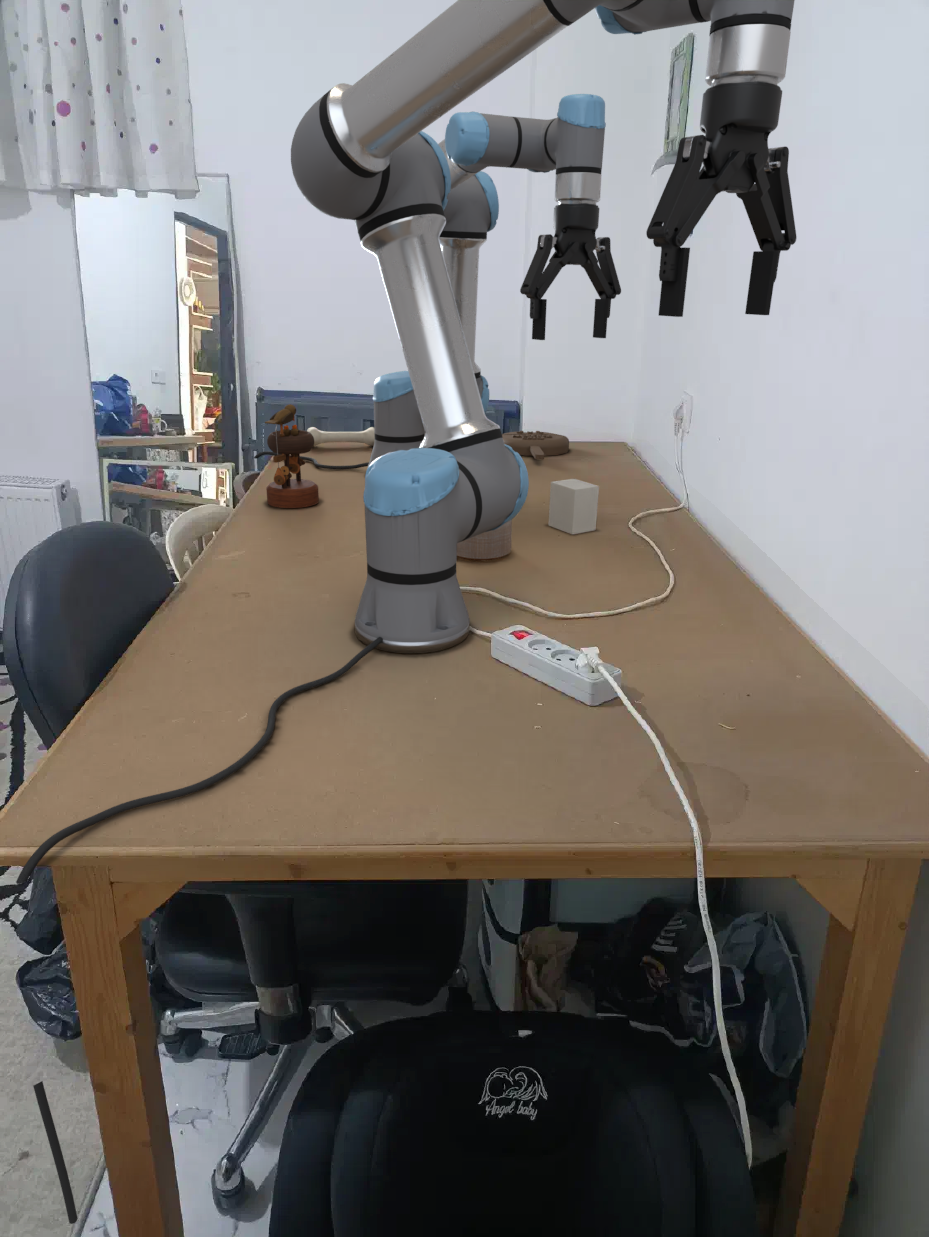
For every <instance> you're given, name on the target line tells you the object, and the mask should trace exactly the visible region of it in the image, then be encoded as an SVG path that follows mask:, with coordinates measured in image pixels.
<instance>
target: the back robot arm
mask: <svg viewBox="0 0 929 1237" xmlns="http://www.w3.org/2000/svg"><path fill="white" fill-rule="evenodd" d="M556 116H557V117H555V118H551V119H542V118H532V117H520V116H511V115H499V114H492V113H491V114H490V113H483V112H479V111H478V112H477V111H469V112H467V111H465V112H461V111H460V112H458V111H457V112H455V113H453V114H452V115H451V116H450V117H449V121H448V123H447V125H446V128H445V132H444V133H445V134H444V139H443V140H441V141H440V142H439V143H437V144H438V145H439V146H440V148H441V149H442V151H443V153H444V155H445V157H446V159H447V162H448V165H449V169H450V175H451V189H450V193H448V195H447V199H448V202H447V205H446V207H445V209H444V215H445V219H446V224H445V226H444V228H443V230H442V232H441V234H440V236H439V241H440V245H441V249H442V253H443V256H444V260H445V264H446V268H447V272H448V275H449V279H450V283H451V287H452V291H453V295H454V298H455V302H456V306H457V310H458V314H459V317H460V321H461V325H462V329H463V333H464V337H465V340H466V344H467V348H468V352H469V356H470V359H471V363H472V367H473V371H474V375H475V378H476V382H477V386H478V390H479V394H480V398H481V401H482V405H483V409H484V413H485V415H486V414H487V411H488V408H489V403H490V388H489V382H488V380H487V379H486V377H485V376H483V375H482V374H481V372H482V369H481V368H480V366H479V365H478V364H477V363H476V361H475V360H476V359H475V358H476V339H477V338H476V336H477V315H478V314H477V313H478V290H479V269H480V268H479V267H480V266H479V265H480V249H481V247H482V246H483V245H484V244H485V243H486V242H487V241H488V233H489V232H491V231H492V230H494V228H495V227H496V225H497V221H498V219H499V214H500V204H499V203H500V202H499V195H498V190H497V186H496V185H495V183H494V180H493V179H492V177H491V176H490V175H489V174H488V173H487V172H486V171H483V170H485V169H486V168H489V167H490V168H491V167H493V168H506V169H507V168H508V169H521V170H522V169H523V170H528V171H529V172H531V173H542V174H543V173H544V174H546V173H550V172H551V171H555V181H554V201H555V202H556V203H557V205H555V206H554V207H553V218H552V219H553V221H552V227H553V229H554V235H553V234H551V233H550V234H549V233H547V234H539V235H538V237H537V245H536V250H535V253H534V255H533V257H532V260H531V262H530V265H529V267H528V269H527V272H526V275H525V277H524V279H523V282H522V284H521V286H520V289H519V292H520V294H521V295H524V296H525V297H526V298H527V299H529V318H530V320H532V328H531V340H535V341H545V340H546V328H547V327H546V326H547V325H546V324H547V323H546V322H547V303H548V302H547V301H548V300H547V299H546V298H543V297H544V295H545V294H546V292H547V291H548V290H549V288H550V287H551V285H552V284H553V282H554V281H555V280H556V278H557V276H558V275H559V273H560V272H561V271H562V269H563V268H564V267H565V266H570V265H571V266H580V267H581V268H583V269H584V271H585V273H586V275H587V276H588V278H589V280H590V282H591V284H592V286H593V288H594V290H595V291H596V293H597V295H598V297H599V298H595V299H594V311H593V314H594V316H593V328H592V329H593V330H592V338H593V339H594V338H596V339H607V329H608V319H610V317H611V305H612V299H613V300H615V299H616V298H617V296H619V295H621V293H622V288H621V284H620V281H619V276H618V273H617V269H616V267H615V263H614V259H613V255H612V252H611V249H612V248H611V237H610V236H600V237H597V236H596V232H597V230H598V228H599V224H600V223H599V221H600V207H599V205H597V203H599V202H600V201H601V191H602V170H603V162H604V160H603V158H604V147H605V146H604V145H605V135H606V134H605V133H606V125H607V124H606V123H607V122H606V101H605V100H604V98H603V97H601V96H600V95H597V94H593V93H592V94H591V93H575V94H567V95H565V96H563V97H561V99H560V101H559V102H558V110H557V113H556ZM552 249H554V251H553V252H554V253H553V254H552V255H551V253H552ZM594 250H595V251H594ZM594 252H595V253H594ZM550 255H551V257H550ZM547 263H548V264H547ZM546 265H547V266H546ZM372 401H373V427H374V434H375V443H374V446H372V451H371V454H370V457H369V462H363V463H358V464H351V465H329V464H321V463H318V460H317V459H315V458H314V457H310V456H303V455H300V458H301V459H302V460H304V461H308V462H312V463H313V464H314V466H315V467H317V468H319V469H325V470H355V469H360V468H365V467H367V468H368V467H369V465H370V464H371V463H372V462H373V461H374V460H375V459H377V458H379V457H381V456H383V455H385V454H388V453H391V452H395V451H399V450H405V451H407V450H410V449H413V448H419V447H420V445H421V443H422V441H423V439H424V437H425V430H424V426H423V422H422V419H421V415H420V412H419V408H418V404H417V401H416V397H415V393H414V390H413V386H412V383H411V379H410V375H409V372H408V370H402V371H395V372H389V373H386V374H385V373H384V374H382V375H380V376H379V377H377V378H376V379H375V381H374V382H373V396H372ZM266 455H267V456H276V455H277V453H274V452H273V451H271V450H264V451H261V452H258V453H257V454H256V455H255V456H254V457H253V459H259V458H260V457H262V456H266ZM278 455H280V454H278ZM290 457H291V456H290Z"/></svg>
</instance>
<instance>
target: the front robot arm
mask: <svg viewBox="0 0 929 1237" xmlns="http://www.w3.org/2000/svg"><path fill="white" fill-rule="evenodd" d="M795 1H796V0H456V1H455V2H453V4H451V5H450V6H449V7H447V8H446V9H445V10H444V11H443V12H442V13H440V14H439V15H438V16H436V17H435V18H434V19H432V20H431V21H430V22H429V23H427V24H426V25H425V26H424V27H423V28H422V29H421V30H419V31H418V32H416V33H415V34H414V35H413V36H412V37H411V38H409V39H408V40H407V41H405V42H404V43H402V45H400V47H398V48H396V50H395V51H393V52H392V53H391V54H390V55H388V56H387V57H386V58H385V59H384V60H382V61H381V62H380V63H378V64H377V65H375V67H374V68H372V69H371V70H370V71H369V72H367V73H366V74H364V76H362V77H361V78H360V79H359V80H357V81H355V83H353V84H349V83H345V82H344V83H343V82H342V83H338V84H336V85H334V86H333V87H332V88H330V89H329V90H328V91H327V92H326V93H324V94H323V95H322V96H321V97H320V98H319V99H318V100H316V101H315V102H314V103H313V104H312V105H311V107H309V109H308V110H307V111H306V112H305V113H304V115H303V116H302V118H301V119H300V121H299V123H298V124H297V126H296V128H295V131H294V134H293V137H292V141H291V146H290V165H291V170H292V171H291V172H292V176H293V178H294V181H295V183H296V186H297V188H298V189H299V191H300V193H301V195H302V196H303V197H304V199H305V200H306V201H307V202H308V203H309V205H311V206H312V207H313V208H315V209H316V210H317V211H319V212H320V213H322V214H324V215H327V216H329V217H332V218H335V219H340V220H350V221H354V224H355V227H356V231H357V234H358V237H359V241H360V245H361V248H363V249H364V250H366V251H367V252H369V253H370V254H372V255H373V256H375V257H376V259H377V263H378V267H379V271H380V275H381V277H382V282H383V285H384V288H385V292H386V296H387V299H388V303H389V306H390V311H391V314H392V317H393V320H394V325H395V329H396V332H397V335H398V336H397V337H398V339H399V342H400V343H399V344H400V347H401V350H402V353H403V357H404V360H405V364H406V368H407V371H408V372H409V375H410V379H411V383H412V386H413V390H414V393H415V397H416V401H417V404H418V408H419V412H420V415H421V419H422V422H423V426H424V430H425V437H424V439H423V441H422V443H421V445H420V447H419V448H413V449H410V450H407V451H405V450H399V451H395V452H391V453H388V454H385V455H383V456H381V457H379V458H377V459H375V460H374V461H373V462H372V463H371V464H370V465H369V467H368V466H367V468H366V471H365V475H364V491H363V496H362V498H363V503H364V522H365V523H364V525H365V526H364V527H365V550H366V579H365V584H364V586H363V589H362V592H361V596H360V600H359V602H358V606H357V609H356V612H355V618H354V633H355V636H356V638H357V639H358V640H359V641H360V642H362V643H363V644H365V645H367V646H365V647H364V648H363V649H362V650H361V651H359V652H358V653H357V654H355V656H353V657H352V658H351V659H350V660H349V661H348V662H347V663H346V664H345V665H343V666H342V667H340V668H339V669H337V670H336V671H334V672H332V673H331V674H328V675H326V676H324V677H321V678H318V679H315V680H312V681H309V682H306V683H303V684H300V685H297V686H295V687H293V688H290V689H288V690H287V691H285V692H284V693H282V694H280V695H279V696H278V697H277V698H275V700H274V701H273V702H272V705H271V706H270V708H269V712H268V715H267V716H268V717H267V723H266V724H267V725H266V729H265V731H264V733H263V735H262V736H261V737H260V739H258V741H257V742H256V743H255V744H254V745H253V746H252V748H250V750H248V751H247V753H245V754H244V755H243V756H242V757H240V758H239V759H238V760H237V761H235V762H233V763H232V764H230V766H228V767H226V768H225V769H223V770H221V771H219V772H217V773H215V774H214V775H212V776H210V777H207V778H205V779H203V780H201V781H199V782H196V783H193V784H191V785H188V786H185V787H181V788H178V789H175V790H170V791H169V790H168V791H165V792H162V793H157V794H152V795H148V796H144V797H140V798H136V799H132V800H129V801H126V802H122V803H120V804H117V805H114V806H112V807H110V808H107V809H104V810H102V811H101V812H98V813H97V814H93V815H92V816H89V817H87V818H84V819H82V820H79V821H77V822H75V823H73V824H71V825H68V826H67V827H64V828H62V829H61V830H59V831H57V832H56V833H53V834H52V835H51V836H49V837H48V838H47V839H46V840H45V841H44V842H42V844H40V845H39V847H37V849H36V850H35V851H34V852H33V854H32V855H31V856H30V858H29V859H28V860H27V862H26V863H25V865H24V866H23V867H22V869H21V871H20V872H19V875H18V877H17V879H16V881H15V883H16V884H17V885H21V884H24V883H26V882H27V881H28V880H29V878H30V876H31V875H32V874H33V871H34V870H35V868H36V867H37V866H38V864H39V862H41V860H42V859H43V858H44V856H45V855H47V853H49V851H50V850H51V849H52V848H53V847H54V846H56V845H57V844H58V843H60V842H61V841H63V840H65V839H67V838H69V837H70V836H72V835H74V834H76V833H78V832H80V831H83V830H86V829H87V828H90V827H92V826H94V825H96V824H98V823H101V822H103V821H106V820H108V819H110V818H112V817H114V816H117V815H119V814H122V813H125V812H127V811H130V810H134V809H137V808H141V807H144V806H149V805H152V804H157V803H162V802H165V801H170V800H174V799H178V798H181V797H185V796H188V795H192V794H194V793H198V792H200V791H202V790H205V789H206V788H209V787H211V786H213V785H215V784H217V783H219V782H220V781H222V780H224V779H226V778H228V777H230V776H231V775H232V774H234V773H236V772H238V771H239V770H240V769H241V768H243V767H245V766H246V765H247V764H248V763H249V762H250V761H251V760H252V759H254V758H255V756H257V755H258V754H259V752H260V751H261V750H262V749H263V748H264V747H265V746H266V745H267V743H268V742H269V741H270V739H271V737H272V735H273V733H274V731H275V726H276V715H277V711H278V710H279V708H280V707H281V705H282V704H283V703H284V702H285V701H287V700H288V699H289V698H291V697H293V696H295V695H297V694H299V693H301V692H305V691H307V690H310V689H313V688H317V687H319V686H323V685H325V684H328V683H330V682H332V681H334V680H336V679H338V678H340V677H342V676H343V675H344V674H346V673H347V672H349V671H350V670H351V669H352V668H353V667H355V665H356V664H358V663H359V662H360V661H361V660H363V658H364V657H365V656H367V655H368V654H369V653H370V652H372V651H373V650H374V649H377V650H380V651H384V652H390V653H396V654H397V653H398V654H425V653H433V652H439V651H443V650H446V649H449V648H452V647H455V646H457V645H458V644H460V643H462V642H463V641H464V640H466V639H467V637H468V636H469V634H470V616H469V612H468V608H467V606H466V601H465V599H464V596H463V593H462V589H461V586H460V583H459V581H458V577H457V561H458V560H457V559H458V557H457V543H459V542H462V541H464V540H467V539H469V538H472V537H474V536H476V535H479V534H481V533H484V532H488V531H492V530H496V529H498V528H499V527H501V526H502V525H503V524H505V523H507V522H508V521H510V520H512V521H513V519H514V518H515V517H516V516H517V515H518V514H519V513H520V512H521V510H522V509H523V506H524V505H525V503H526V501H527V498H528V493H529V487H530V486H529V485H530V481H529V473H528V469H527V466H526V463H525V461H524V459H523V458H522V455H519V454H518V452H515V451H514V450H513V449H512V447H510V446H508V445H506V444H504V441H503V437H502V434H503V433H502V430H501V427H500V425H499V424H498V423H495V422H494V421H492V420H491V419H489V418H488V417H487V416H486V414H485V413H484V409H483V405H482V401H481V398H480V394H479V390H478V386H477V382H476V378H475V375H474V371H473V367H472V363H471V359H470V356H469V352H468V348H467V344H466V340H465V337H464V333H463V329H462V325H461V321H460V317H459V314H458V310H457V306H456V302H455V298H454V295H453V291H452V287H451V283H450V279H449V275H448V272H447V268H446V264H445V260H444V256H443V253H442V249H441V245H440V241H439V236H440V234H441V232H442V230H443V228H444V226H445V224H446V219H445V215H444V209H445V207H446V205H447V202H448V199H447V195H448V193H450V189H451V175H450V169H449V165H448V162H447V159H446V157H445V155H444V153H443V151H442V149H441V148H440V146H439V145H438V144H439V143H438V142H437V141H436V140H435V139H434V138H433V136H431V135H430V134H428V133H426V132H425V131H423V130H425V129H426V128H428V127H429V126H431V125H432V124H433V123H434V122H436V121H437V120H439V119H440V118H441V117H443V116H444V115H446V114H448V112H450V111H451V110H452V109H454V108H456V107H457V106H458V105H460V104H461V103H462V102H464V101H465V100H466V99H468V98H470V97H471V96H473V94H475V93H477V92H478V91H479V90H481V89H483V87H485V86H486V85H487V84H489V83H490V82H492V81H493V80H495V79H496V78H498V77H499V76H501V74H503V73H504V72H506V71H507V70H509V69H510V68H511V67H513V66H514V65H515V64H517V63H518V62H520V61H521V60H523V59H524V58H526V56H528V55H529V54H531V53H532V52H534V51H536V49H538V48H539V47H541V46H542V45H544V44H545V43H546V42H548V41H549V40H550V39H552V38H554V37H555V36H556V35H557V34H559V33H560V32H562V31H563V30H564V29H566V28H567V27H570V26H571V25H572V24H574V23H576V22H577V21H579V20H580V19H581V18H583V17H584V16H585V15H587V14H589V13H590V12H591V11H593V10H595V14H596V16H597V19H599V20H600V24H601V27H602V29H603V30H604V31H606V32H607V33H609V34H612V35H623V34H632V35H642V34H643V33H647V32H652V31H658V30H664V29H670V28H675V27H682V26H687V25H693V24H694V25H695V24H699V23H700V24H702V23H709V22H710V26H709V27H710V28H709V41H708V51H707V57H706V58H707V59H706V68H705V78H704V82H705V83H706V84H707V85H708V86H709V87H708V88H706V90H705V92H704V93H703V94H702V103H701V112H700V120H699V129H700V132H701V133H703V134H698V135H691V136H685V137H682V138H680V140H679V142H678V146H677V147H678V148H677V152H676V153H677V154H676V160H675V162H674V165H673V168H672V170H671V173H670V174H669V177H668V179H667V181H666V184H665V186H664V188H663V191H662V194H661V196H660V198H659V200H658V203H657V206H656V208H655V210H654V213H653V215H652V216H651V220H650V222H649V223H648V226H647V229H646V233H645V234H646V237H647V239H648V240H652V243H653V246H654V247H655V248H660V249H661V250H660V260H659V270H658V278H659V281H660V282H661V286H660V294H659V295H660V296H659V306H658V316H659V317H674V318H683V316H684V309H685V299H686V292H687V291H686V289H687V279H688V270H689V263H690V262H689V261H690V253H691V247H683V245H684V244H685V243H686V241H687V240H688V238H689V236H691V234H692V233H693V231H694V229H695V228H696V226H697V225H698V224H699V222H700V221H701V219H702V217H703V216H704V214H705V213H706V212H707V210H708V208H709V207H710V205H711V204H712V203H713V201H714V199H715V198H716V196H717V195H718V194H720V193H721V192H726V193H727V194H735V195H736V197H737V198H739V199H740V200H741V201H742V204H743V206H744V209H745V211H746V215H747V218H748V220H749V224H750V225H751V229H752V231H753V233H754V236H755V238H756V241H757V244H758V247H759V250H760V251H759V250H757V251H753V253H752V258H751V268H750V274H749V275H750V276H749V283H748V290H747V297H746V305H745V312H744V314H745V315H753V316H770V312H771V304H772V298H773V291H774V286H775V282H776V280H777V277H778V276H777V275H778V270H779V269H778V268H779V262H780V256H781V252H787V251H789V250H790V249H791V246H793V245H795V244H796V242H797V230H796V222H795V216H794V209H793V202H792V194H791V186H790V180H789V179H790V178H789V171H788V170H789V169H788V168H789V155H790V150H789V147H788V146H785V145H784V146H778V147H777V146H776V147H770V148H769V136H770V134H771V133H772V132H774V131H775V130H776V129H777V128H778V126H779V120H780V113H781V105H782V97H783V90H782V88H781V87H780V86H779V85H778V84H780V83H781V82H783V80H784V79H785V78H786V73H787V65H788V58H789V57H788V56H789V49H790V43H791V42H790V40H791V28H792V20H793V13H794V6H795ZM704 134H705V135H704ZM702 165H703V166H702ZM783 231H784V232H783ZM32 1086H33V1090H34V1094H35V1097H36V1101H37V1105H38V1109H39V1112H40V1115H41V1116H40V1117H41V1120H42V1123H43V1126H44V1129H45V1133H46V1137H47V1140H48V1144H49V1147H50V1150H51V1154H52V1157H53V1161H54V1165H55V1169H56V1173H57V1176H58V1180H59V1184H60V1188H61V1193H62V1197H63V1200H64V1205H65V1211H66V1215H67V1218H68V1223H69V1224H70V1225H73V1224H76V1222H78V1212H77V1209H76V1204H75V1199H74V1194H73V1189H72V1186H71V1182H70V1178H69V1174H68V1170H67V1166H66V1162H65V1159H64V1155H63V1151H62V1148H61V1144H60V1140H59V1136H58V1134H57V1128H56V1126H55V1123H54V1122H55V1121H54V1119H53V1115H52V1112H51V1108H50V1104H49V1101H48V1098H47V1097H48V1096H47V1093H46V1089H45V1086H44V1081H43V1080H42V1081H39V1082H37V1083H35V1084H34V1085H32Z"/></svg>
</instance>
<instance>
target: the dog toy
mask: <svg viewBox="0 0 929 1237" xmlns="http://www.w3.org/2000/svg"><path fill="white" fill-rule="evenodd" d="M306 431H308V432H310V433H311V434H312V435H313V437H314V446H313V447H316V446H318V445H320V444H328V443H329V444H330V443H359V444H365V445H368V446H370V447H374V443H375V434H374V426H371V427H368V428H367V429H365V430H361V431H325V430H324V431H323V430H320V429H318V428H316V427H315V426H310V427H308V428H307V430H306Z"/></svg>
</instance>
